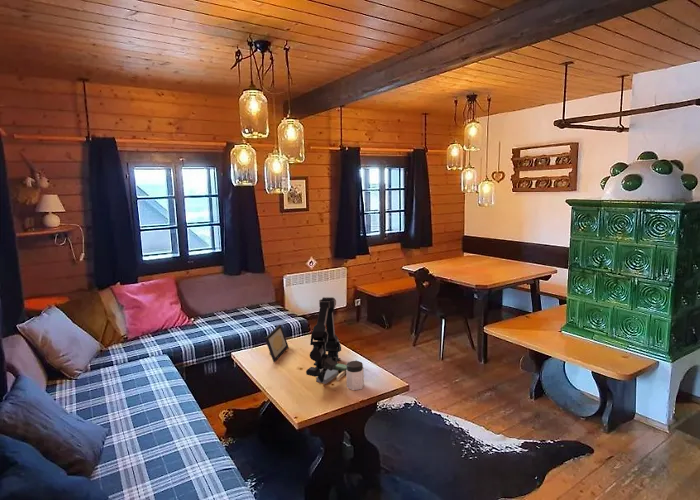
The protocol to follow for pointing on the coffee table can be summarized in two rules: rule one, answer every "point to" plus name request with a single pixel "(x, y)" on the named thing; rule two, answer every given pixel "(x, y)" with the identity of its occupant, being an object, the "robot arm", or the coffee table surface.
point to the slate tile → (328, 376)
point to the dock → (341, 368)
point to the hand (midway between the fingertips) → (321, 381)
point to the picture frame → (276, 343)
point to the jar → (355, 375)
